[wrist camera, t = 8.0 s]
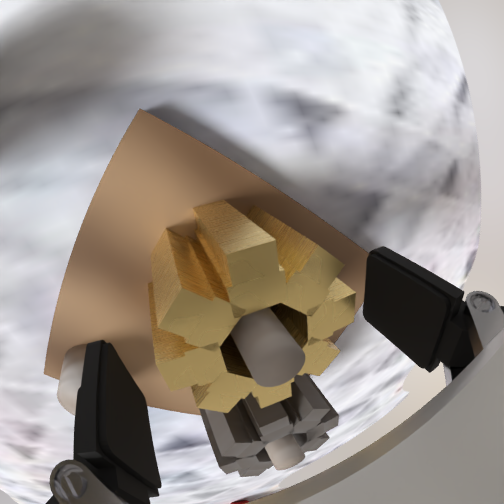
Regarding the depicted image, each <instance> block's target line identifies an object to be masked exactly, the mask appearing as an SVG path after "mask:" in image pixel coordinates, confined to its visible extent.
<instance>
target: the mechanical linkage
mask: <svg viewBox="0 0 504 504" xmlns="http://www.w3.org/2000/svg"><path fill="white" fill-rule="evenodd" d="M248 502H249V501H247V500H244V501H239V502H233V503H231V504H245V503H248Z"/></svg>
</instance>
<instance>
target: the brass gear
mask: <svg viewBox="0 0 504 504" xmlns="http://www.w3.org/2000/svg"><path fill="white" fill-rule="evenodd" d="M193 212H194V216H195V221H196V225H197V229H194V233H195V237H196V240H195V239H194V238H192V237H190V236H188V235H186V237H185V238H184V237H182V236H180V235H179V234H177V233H175V232H173V231H171V230H169V229H168V228H166V229H165V230H164V232H163V234H162V235H161V237H160V239H159V241H158V242H157V244H156V246H155V248H154V249H153V251H152V253H151V267H152V279H153V282H151V283H148V292H149V306H150V317H151V328H152V337H153V346H154V354H155V361H156V366H157V367H158V369H159V371H160V373H161V375H162V377H163V378H164V380H165V382H166V384H167V385H168V387H169V389H170V391H174V390H178V389H182V388H185V387H189V386H191V389H192V392H193V396H194V399H195V403H196V406H197V408H201V409H207V410H212V411H218V412H224V413H228V412H229V411H230V410H231V409H232V408H233V407H234V406H235V405H236V404H237V402H238V401H239V400H240V399H241V398H242V399H245V398H246V397H247V396H248V394H249V393H250V392H251V393H252V395H253V397H255V398H256V400H257V402H258V404H259V406H260V408H264V407H266V406H269V405H272V404H274V403H276V402H279V401H281V400H284V399H286V398H288V397H291V396H292V393H291V383H292V382H294V377H293V378H292V379H291V380H289V381H288V382H286V383H284V384H281V385H278V386H275V387H263V386H260V385H258V384H257V383H256V382H255V380H254V378H253V376H252V375H251V373H250V371H249V369H248V367H247V365H246V363H245V361H244V359H243V357H242V355H241V353H240V351H239V349H238V347H237V345H236V343H235V341H234V339H233V337H232V335H231V333H230V332H231V331H232V329H233V328H234V326H235V325H236V324H237V322H238V321H239V319H240V318H241V317H242V316H244V315H247V314H250V313H253V312H256V311H259V310H262V309H264V308H267V307H269V308H270V309H271V310H272V311H273V313H274V314H275V315H276V317H277V318H278V319H279V321H280V322H281V323H282V324H283V326H284V327H285V328H286V330H287V331H288V332H289V333H290V335H291V336H292V337H293V339H294V340H295V341H296V342H297V344H298V345H299V346H300V347H301V349H302V350H303V351H304V353H305V363H304V365H303V367H302V369H301V370H300V372H299V373H298V374H297V375H301V376H302V375H303V374H304V373H308V374H312V375H317V376H320V375H321V374H322V373H323V371H324V370H325V369H326V368H327V367H328V366H329V364H330V363H331V362H332V361H333V360H334V358H335V357H336V356H337V355H338V354H339V352H340V350H339V349H338V348H337V347H336V346H335V345H334V344H333V343H332V342H331V340H330V339H329V338H328V337H330V336H332V335H333V332H334V331H336V330H338V329H340V328H342V327H345V326H347V325H349V324H351V323H353V322H354V312H355V300H356V292H355V291H353V290H352V289H351V288H350V287H348V286H347V285H346V284H344V283H343V282H342V281H340V280H339V279H338V278H336V277H337V276H338V274H339V273H340V271H341V270H342V268H343V267H344V264H343V263H342V262H340V261H339V260H338V259H336V258H335V257H334V256H332V255H331V254H330V253H328V252H327V251H326V250H324V249H323V248H322V247H320V246H319V245H317V244H316V243H314V242H313V241H311V240H310V239H308V238H306V237H305V236H303V235H302V234H300V233H299V232H297V231H295V230H294V229H292V228H291V227H289V226H287V225H286V224H284V223H283V222H281V221H279V220H278V219H276V218H275V217H273V216H271V215H270V214H268V213H266V212H265V211H263V210H262V209H260V208H258V207H257V206H255V205H253V206H252V207H251V209H250V210H249V212H248V213H247V215H246V216H244V215H243V214H242V213H240V212H239V211H238V210H236V209H235V208H234V207H232V206H231V205H230V204H229V203H227V202H226V201H225V200H220V201H216V202H212V203H209V204H205V205H201V206H197V207H193Z"/></svg>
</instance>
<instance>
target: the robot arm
mask: <svg viewBox="0 0 504 504" xmlns="http://www.w3.org/2000/svg"><path fill="white" fill-rule="evenodd" d="M463 295H464V291H462V290H461V289H459V288H457V287H456V286H454V285H452V284H451V283H449V282H447V281H446V280H444V279H442V278H440V277H439V276H437V275H435V274H434V273H432V272H430V271H428V270H427V269H425V268H423V267H421V266H419V265H418V264H416V263H414V262H412V261H410V260H409V259H407V258H405V257H403V256H401V255H399V254H398V253H396V252H394V251H392V250H390V249H388V248H386V247H384V246H383V247H379V248H377V249H374V250H372V251H370V253H369V256H368V257H367V260H366V279H365V292H364V304H363V316H364V318H365V320H366V321H367V322H369V323H370V324H371V325H372V326H373V327H374V328H376V329H377V330H378V331H379V332H380V333H381V334H383V335H384V336H385V337H386V338H387V339H388V340H389V341H391V342H392V343H393V344H394V345H395V346H396V347H398V348H399V349H400V350H401V351H402V352H403V353H404V354H406V355H407V356H408V357H409V358H410V359H411V360H412V361H414V362H415V363H416V364H417V365H418V366H419V367H421V368H425V369H426V370H427V371H428V372H432V371H433V370H434V369H435V368H436V367H437V366H439V363H440V361H441V362H442V363H443V366H444V372H445V379H446V387H445V388H444V389H443V390H442V391H441V392H440V393H439V394H437V395H436V396H435V397H434V398H433V399H432V400H430V401H429V402H428V403H427V404H426V405H424V406H423V407H422V408H421V409H420V410H418V411H417V412H416V413H415V414H413V415H412V416H411V417H409V418H408V419H407V420H405V421H404V422H403V423H401V424H400V425H399V426H397V427H396V428H394V429H393V430H392V431H390V432H389V433H387V434H386V435H384V436H383V437H382V438H380V439H379V440H377V441H375V442H374V443H372V444H371V445H370V446H368V447H366V448H365V449H363V450H361V451H360V452H358V453H356V454H355V455H353V456H351V457H350V458H348V459H346V460H344V461H342V462H340V463H339V464H337V465H335V466H333V467H331V468H329V469H327V470H325V471H324V472H321V473H320V474H317V475H316V476H313V477H311V478H309V479H307V480H305V481H303V482H300V483H298V484H296V485H293V486H291V487H289V488H286V489H284V490H281V491H279V492H276V493H274V494H271V495H268V496H266V497H263V498H260V499H257V500H254V501H251V502H248V503H245V504H504V306H499V304H498V302H497V300H496V299H495V298H494V297H493V296H491V295H490V294H488V293H485V292H482V291H473V292H471V293H469V294H468V295H467V297H466V301H465V302H464V301H462V298H463ZM50 488H51V491H52V493H53V496H52V497H51V498H50V499H49V500H48V502H47V503H46V504H150V500H149V498H150V497H157V496H159V492H158V488H161V480H160V475H159V471H158V466H157V462H156V457H155V451H154V446H153V441H152V435H151V429H150V423H149V416H148V409H147V402H146V399H145V396H144V394H143V393H142V391H141V390H140V388H139V387H138V385H137V384H136V382H135V381H134V379H133V378H132V376H131V375H130V373H129V371H128V370H127V368H126V367H125V365H124V363H123V362H122V360H121V358H120V357H119V355H118V353H117V352H116V350H115V348H114V347H113V345H112V344H111V343H110V342H109V343H106V342H105V341H104V340H99V341H95V342H91V343H88V344H87V346H86V352H85V358H84V365H83V372H82V380H81V387H80V388H79V389H78V392H77V400H76V411H75V426H74V460H65V461H62V462H60V463H59V464H57V465H56V466H55V468H54V469H53V470H52V473H51V476H50Z"/></svg>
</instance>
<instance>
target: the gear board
mask: <svg viewBox="0 0 504 504" xmlns="http://www.w3.org/2000/svg"><path fill="white" fill-rule="evenodd" d="M220 200H225V201H226V202H227V203H229V204H230V205H231V206H232V207H234V208H235V209H236V210H238V211H239V212H240V213H242V214H243V215H244V216H246V215H247V213H248V212H249V210H250V209H251V207H252V206H253V205H255V206H257V207H258V208H260V209H262V210H263V211H265V212H266V213H268V214H270V215H271V216H273V217H275V218H276V219H278V220H279V221H281V222H283V223H284V224H286V225H287V226H289V227H291V228H292V229H294V230H295V231H297V232H299V233H300V234H302V235H303V236H305V237H306V238H308V239H310V240H311V241H313V242H314V243H316V244H317V245H319V246H320V247H322V248H323V249H324V250H326V251H327V252H328V253H330V254H331V255H332V256H334V257H335V258H336V259H338V260H339V261H340V262H342V263H343V264H344V267H343V268H342V270H341V271H340V273H339V274H338V276H337V277H336V278H338V279H339V280H340V281H342V282H343V283H344V284H346V285H347V286H348V287H350V288H351V289H352V290H353V291H355V292H356V300H355V312H354V315H355V314H356V312H357V311H358V310H359V308H360V307H361V305H362V304H363V302H364V292H365V279H366V260H367V257H368V256H369V253H368V252H366V251H365V250H364V249H362V248H361V247H360V246H358V245H357V244H356V243H354V242H353V241H351V240H350V239H349V238H347V237H346V236H345V235H343V234H342V233H341V232H339V231H338V230H336V229H335V228H334V227H332V226H331V225H329V224H328V223H327V222H325V221H324V220H322V219H321V218H319V217H318V216H317V215H315V214H314V213H312V212H311V211H309V210H308V209H306V208H305V207H304V206H302V205H301V204H299V203H298V202H296V201H295V200H293V199H292V198H290V197H289V196H287V195H286V194H284V193H283V192H281V191H280V190H278V189H277V188H275V187H274V186H272V185H270V184H269V183H267V182H266V181H264V180H263V179H261V178H260V177H258V176H256V175H255V174H253V173H252V172H250V171H248V170H247V169H245V168H244V167H242V166H240V165H239V164H237V163H236V162H234V161H232V160H231V159H229V158H227V157H226V156H224V155H222V154H221V153H219V152H217V151H216V150H214V149H212V148H211V147H209V146H207V145H205V144H204V143H202V142H200V141H198V140H197V139H195V138H193V137H191V136H190V135H188V134H186V133H184V132H183V131H181V130H179V129H177V128H175V127H174V126H172V125H170V124H168V123H166V122H164V121H163V120H161V119H159V118H157V117H155V116H153V115H151V114H149V113H147V112H146V111H144V110H142V109H139V111H138V112H137V114H136V116H135V117H134V119H133V120H132V122H131V124H130V126H129V127H128V129H127V131H126V133H125V134H124V136H123V138H122V140H121V141H120V143H119V145H118V147H117V149H116V151H115V153H114V155H113V156H112V158H111V160H110V162H109V164H108V166H107V168H106V170H105V172H104V174H103V177H102V179H101V181H100V183H99V185H98V187H97V190H96V192H95V194H94V196H93V199H92V201H91V203H90V206H89V208H88V210H87V213H86V215H85V218H84V220H83V223H82V225H81V228H80V231H79V233H78V236H77V239H76V242H75V244H74V247H73V250H72V253H71V256H70V259H69V262H68V266H67V269H66V272H65V275H64V279H63V282H62V286H61V289H60V293H59V297H58V301H57V305H56V309H55V313H54V318H53V322H52V327H51V332H50V337H49V342H48V348H47V354H46V361H45V368H44V374H45V375H48V376H50V377H53V378H55V379H58V380H59V385H58V391H57V398H58V400H59V402H60V404H61V405H62V406H63V407H64V408H65V409H66V410H67V411H68V412H70V413H71V414H73V415H75V411H76V400H77V392H78V389H79V388H80V387H81V380H82V372H83V365H84V358H85V352H86V346H87V344H88V343H91V342H95V341H99V340H104V341H105V342H106V343H109V342H110V343H111V344H112V345H113V347H114V348H115V350H116V352H117V353H118V355H119V357H120V358H121V360H122V362H123V363H124V365H125V367H126V368H127V370H128V371H129V373H130V375H131V376H132V378H133V379H134V381H135V382H136V384H137V385H138V387H139V388H140V390H141V391H142V393H143V394H144V396H145V399H146V402H147V406H150V407H155V408H160V409H165V410H170V411H176V412H182V413H188V414H195V415H201V416H202V419H203V422H204V425H205V428H206V431H207V434H208V437H209V440H210V443H211V446H212V449H213V452H214V454H215V457H216V460H217V462H218V465H219V467H220V468H221V469H222V470H223V471H224V472H225V473H226V474H229V473H232V472H235V471H238V472H239V474H240V477H247V476H259V475H260V474H261V473H262V472H264V471H265V470H266V469H269V468H270V467H272V466H273V465H274V467H275V468H276V470H285V469H288V468H291V467H293V466H295V465H297V464H298V463H300V462H301V461H302V460H303V459H304V458H305V455H304V453H305V452H307V451H314V450H317V449H318V448H319V447H320V446H321V445H322V444H323V443H325V442H326V441H327V440H328V439H329V436H328V435H327V433H326V432H327V431H329V430H330V429H332V428H334V427H336V426H338V419H339V415H338V413H337V412H336V411H335V410H334V408H333V407H332V406H331V404H330V403H329V402H328V400H327V399H326V398H325V396H324V395H323V394H322V392H321V391H320V390H319V388H318V387H317V386H316V384H315V383H314V382H313V380H312V379H311V378H310V376H309V375H310V374H308V373H304V374H303V375H302V376H301V375H297V374H298V373H299V372H300V370H301V369H302V367H303V365H304V363H305V353H304V351H303V350H302V349H301V347H300V346H299V345H298V344H297V342H296V341H295V340H294V339H293V337H292V336H291V335H290V333H289V332H288V331H287V330H286V328H285V327H284V326H283V324H282V323H281V322H280V321H279V319H278V318H277V317H276V315H275V314H274V313H273V311H272V310H271V309H270V308H269V307H267V308H264V309H262V310H259V311H256V312H253V313H250V314H247V315H244V316H242V317H241V318H240V319H239V321H238V322H237V324H236V325H235V326H234V328H233V329H232V331H231V332H230V333H231V335H232V337H233V339H234V341H235V343H236V345H237V347H238V349H239V351H240V353H241V355H242V357H243V359H244V361H245V363H246V365H247V367H248V369H249V371H250V373H251V375H252V376H253V378H254V380H255V382H256V383H257V384H258V385H260V386H263V387H275V386H278V385H281V384H284V383H286V382H288V381H289V380H291V379H292V378H293V377H294V382H292V383H291V393H292V396H291V397H288V398H286V399H284V400H281V401H279V402H276V403H274V404H272V405H269V406H266V407H264V408H260V406H259V404H258V402H257V400H256V398H255V397H253V395H252V393H251V392H250V393H249V394H248V396H247V397H246V398H245V399H242V398H241V399H240V400H239V401H238V402H237V404H236V405H235V406H234V407H233V408H232V409H231V410H230V411H229V412H228V413H224V412H218V411H212V410H207V409H201V408H197V406H196V403H195V399H194V396H193V392H192V389H191V386H189V387H185V388H182V389H178V390H174V391H170V389H169V387H168V385H167V384H166V382H165V380H164V378H163V377H162V375H161V373H160V371H159V369H158V367H157V366H156V361H155V354H154V346H153V337H152V328H151V317H150V306H149V292H148V283H151V282H153V279H152V267H151V253H152V251H153V249H154V248H155V246H156V244H157V242H158V241H159V239H160V237H161V235H162V234H163V232H164V230H165V229H166V228H168V229H169V230H171V231H173V232H175V233H177V234H179V235H180V236H182V237H184V238H185V237H186V235H188V236H190V237H192V238H194V239H195V240H196V237H195V233H194V229H197V225H196V221H195V216H194V212H193V207H197V206H201V205H205V204H209V203H212V202H216V201H220ZM346 327H347V326H345V327H342V328H340V329H338V330H336V331H334V332H333V335H332V336H330V337H328V338H329V339H330V340H331V342H332V343H333V344H334V343H335V342H336V341H337V339H338V338H339V337H340V335H341V334H342V332H343V331H344V330H345V328H346Z"/></svg>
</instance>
